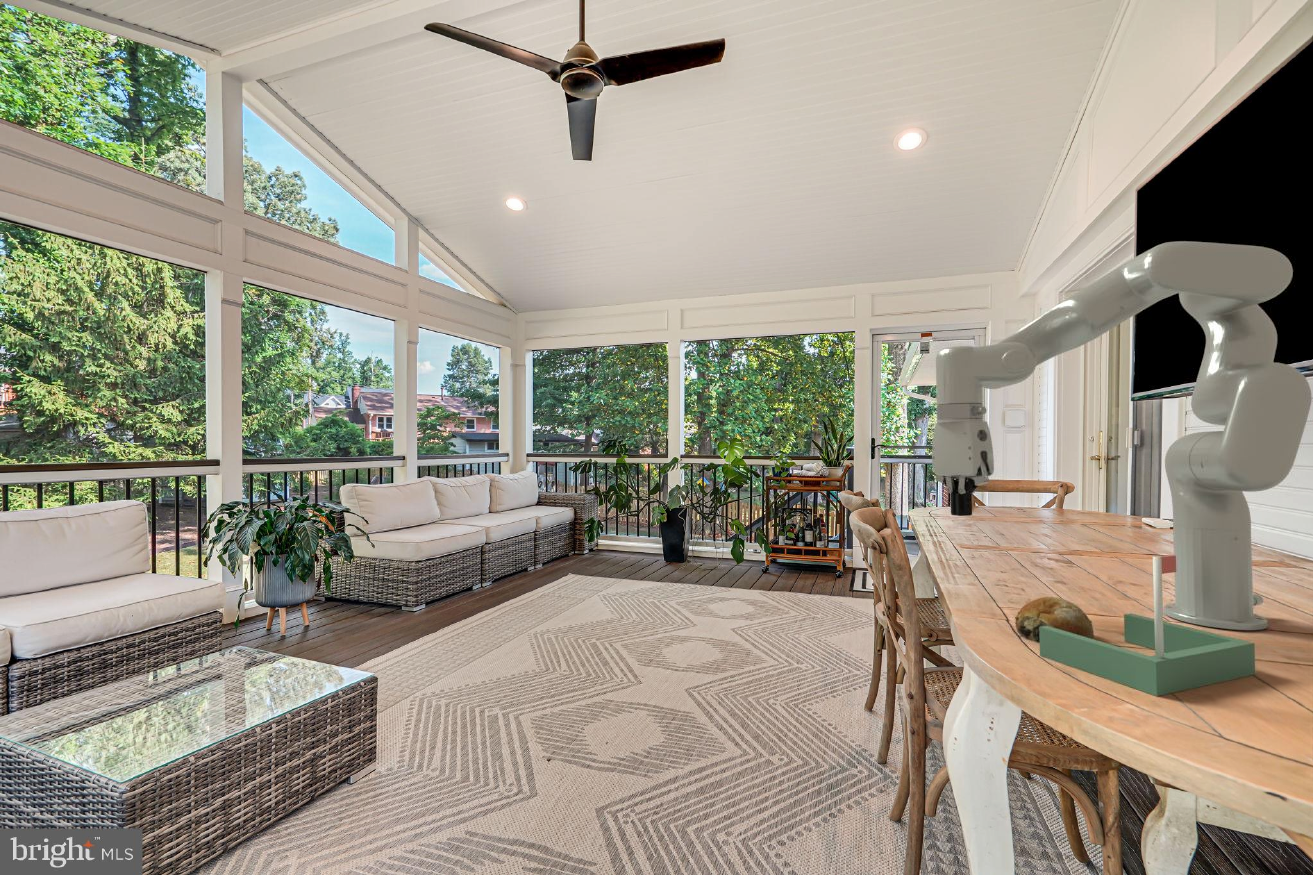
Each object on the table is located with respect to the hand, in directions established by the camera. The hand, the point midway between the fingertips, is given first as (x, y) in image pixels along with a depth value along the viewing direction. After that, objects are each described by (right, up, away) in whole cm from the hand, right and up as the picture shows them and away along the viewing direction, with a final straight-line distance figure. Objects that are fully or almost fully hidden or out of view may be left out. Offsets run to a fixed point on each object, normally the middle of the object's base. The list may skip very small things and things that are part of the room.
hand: (961, 514), depth 106 cm
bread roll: (+6, -17, -16) cm, 24 cm away
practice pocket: (+9, -16, -27) cm, 33 cm away
